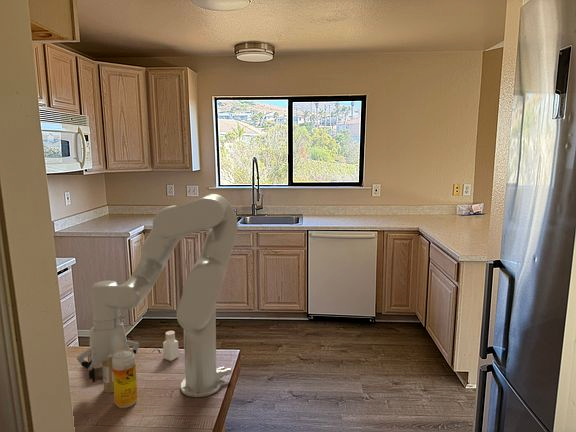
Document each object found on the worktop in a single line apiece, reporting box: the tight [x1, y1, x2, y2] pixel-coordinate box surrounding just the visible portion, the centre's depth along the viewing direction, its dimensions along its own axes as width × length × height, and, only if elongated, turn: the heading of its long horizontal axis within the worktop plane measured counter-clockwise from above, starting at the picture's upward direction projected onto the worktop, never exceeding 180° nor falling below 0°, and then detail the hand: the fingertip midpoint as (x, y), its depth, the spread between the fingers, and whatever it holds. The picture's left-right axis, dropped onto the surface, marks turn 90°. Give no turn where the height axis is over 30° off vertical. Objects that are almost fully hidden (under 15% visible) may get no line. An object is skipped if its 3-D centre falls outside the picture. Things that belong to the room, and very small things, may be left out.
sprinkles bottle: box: [102, 354, 114, 394], centre depth 121 cm, size 5×5×13 cm
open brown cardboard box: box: [87, 345, 131, 381], centre depth 135 cm, size 13×14×6 cm
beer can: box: [112, 349, 138, 409], centre depth 114 cm, size 6×6×15 cm
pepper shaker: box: [162, 330, 180, 362], centre depth 140 cm, size 4×4×10 cm
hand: (110, 375), depth 121 cm, fingers open, 9 cm apart
